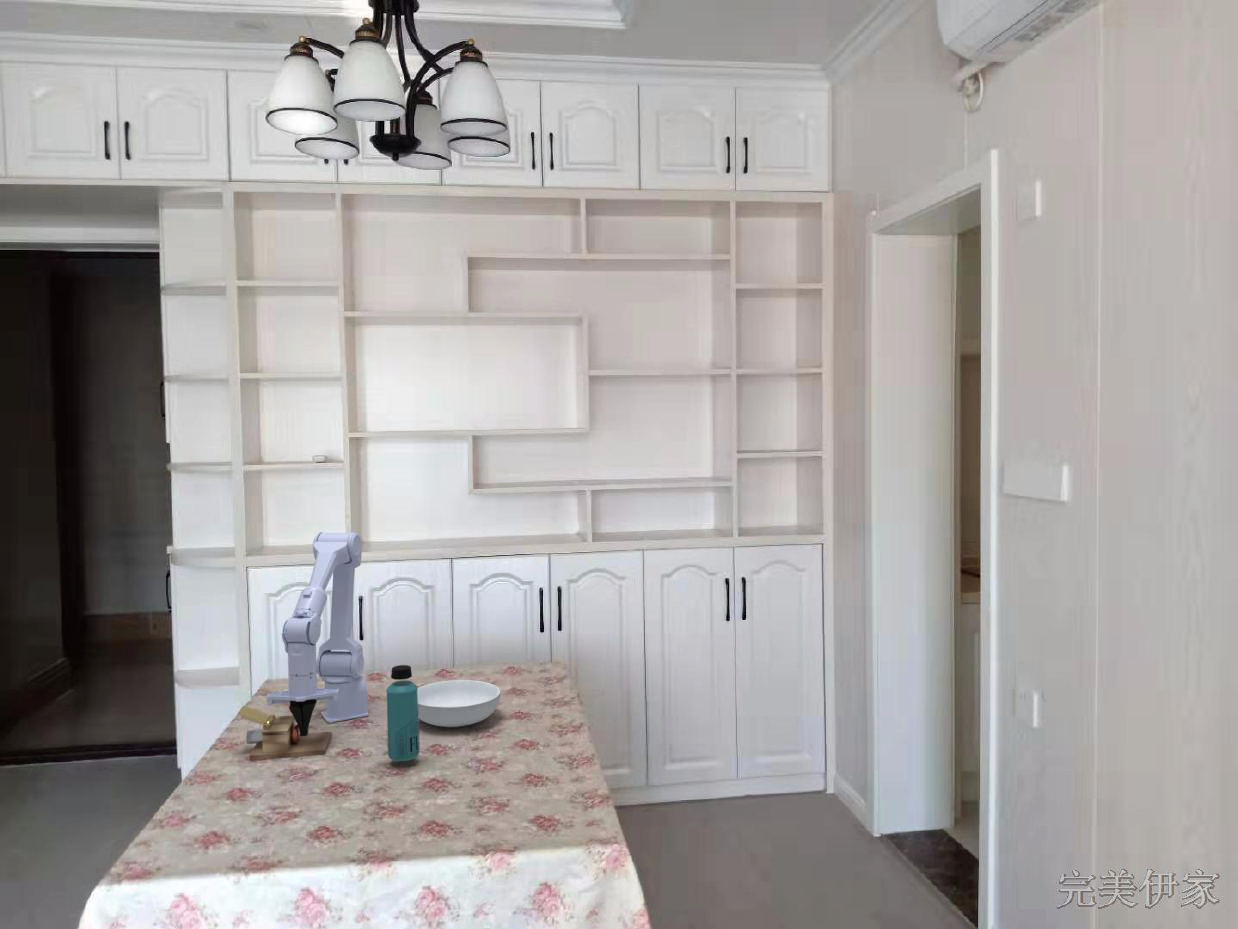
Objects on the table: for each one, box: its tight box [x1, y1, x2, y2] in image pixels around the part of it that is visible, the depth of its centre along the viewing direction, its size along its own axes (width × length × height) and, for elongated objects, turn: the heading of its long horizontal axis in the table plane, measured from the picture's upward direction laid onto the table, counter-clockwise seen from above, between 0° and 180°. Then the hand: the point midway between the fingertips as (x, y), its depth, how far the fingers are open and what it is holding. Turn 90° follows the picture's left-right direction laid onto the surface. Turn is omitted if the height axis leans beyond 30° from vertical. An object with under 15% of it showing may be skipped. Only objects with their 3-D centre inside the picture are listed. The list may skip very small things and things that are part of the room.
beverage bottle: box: [386, 664, 421, 762], centre depth 177 cm, size 6×7×20 cm
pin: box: [245, 724, 300, 745], centre depth 185 cm, size 10×4×4 cm, turn 101°
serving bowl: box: [417, 679, 501, 728], centre depth 202 cm, size 21×21×7 cm
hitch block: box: [249, 714, 333, 761], centre depth 186 cm, size 15×11×6 cm
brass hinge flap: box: [236, 705, 274, 726], centre depth 184 cm, size 7×4×1 cm, turn 101°
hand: (304, 734), depth 186 cm, fingers closed
